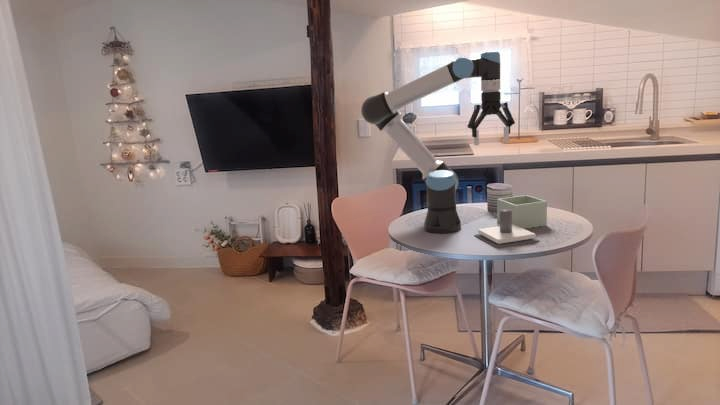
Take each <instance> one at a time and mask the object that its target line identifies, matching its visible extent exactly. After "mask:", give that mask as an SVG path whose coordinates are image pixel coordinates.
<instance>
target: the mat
mask: <svg viewBox="0 0 720 405" xmlns="http://www.w3.org/2000/svg"><path fill="white" fill-rule="evenodd" d="M474 237H475V238H477V239H479V240H481V241H483V242H485V243H487V244H488V245H490V246H492V247H494V248H496V249H500V248H501V249H502V248H508V247H512V246H513V247H515V246H522V245H526V244H532V243H540V240H539V239H537V238H536V237H535V238H531V239H529V240H522V241H516V242H509V243H503V244H498V243H496V242H494V241H492V240H490V239H488V238H487V237H485V236H483V235H481V234H479V233H477V234H474Z"/></svg>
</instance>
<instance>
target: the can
mask: <svg viewBox="0 0 720 405" xmlns="http://www.w3.org/2000/svg"><path fill="white" fill-rule="evenodd" d="M513 188H514V187H513V185H511V184H507V183H500V182H499V183H497V182H495V183H487V185H486V192H487V194H486V195H487V198H486V202H487V203H486V204H487V205H486V206H487V212H488V213H491V214H497V199H500V198H508V197H513Z"/></svg>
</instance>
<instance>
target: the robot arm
mask: <svg viewBox="0 0 720 405" xmlns="http://www.w3.org/2000/svg"><path fill="white" fill-rule="evenodd" d="M471 78H480V83H481V84H480V85H481V86H480V89H481V90H480V91H481V93H480V94H481V96H480V98H481V104H475V105H474V107H473V111H472V114H471V116H470V119H469V121H468V124H467V128H468V129H471V135H472V136H471V138H473V144H474V146H480V130H479V129H478V127H479V126H480V125H481V124H482V122H483V120H484V119H485V117H487V116H490V115H496V116H497V117H498V118H499V119H500V121H502V123H503V124H504V126H503V143H509V142H510V141H509V140H510V134H511V127H512V126H513V125H515V124H516V123H515V120H514V118H513V115H512V113H511V111H510V109H509V104H508V102H506V101H505V102H504V101H503V102H501V99H502V98H501V95H502V94H501V91H500V90H501V54H500V52H499V51H497V50H496V51H494V50H493V51H492V50H491V51H484V52H483V51H482V52H481V53H480V56H479V57H475V58H469V57H467V56H461V57H458V58H456V59H453V60H452V61H451V62H450V63H448V64H445V65H443V66H441V67H439V68H437V69H435V70H433V71H430V72H429V73H427V74H425V75H422V76H420V77H417V78H416V79H414V80H412V81H410V82H408V83H406V84H403V85H402V86H400V87H398V88H396V89H393V90H392V91H390V92H388V91H383V92H381V93H379V94H376V95H373V96H369V97H368V98H366V99H365V100H364V102H362V105H361V115H362V117H363V119H364V121H366V122H367V123H369V124H371V125H375V126H376V127H377V129H379V131H380V132H381V133H386V134H387V135H388V136H389V137H390V138H391V139H392V141H393V142H394V143H395V144H396V145H397V146H398V147H399V148H400V150H401V151H402V152H403V153H404V154H405V155H406V156H407V158H409V160H410V161H411V163H413V164H414V166H415V167H416V168H417V169H418V170H419V172H421V173H422V180H423V181H424V183H425V184H426V205H427V206H426V207H427V210H426V211H427V212H426V214H425V215H426V216H425V219H424V223H423V229H424V231H426V232H429V233H433V234H449V233H455V232H458V231H460V230H461V229H462V222H461V219H460V217H459V213H458V211H457V190H458V186H459V177H458V175H457V173H456V172H455V171H454V170H453V169H451V168H450V167H449V166H448V165H447V164H446V163H445V162H444V160H438V159H437V158H436V156H434V154H433V153H432V152H431V151H430V150H429V149H428V148H427V147H426V145H425V144H424V143H423V142H422V141H421V140H420V139H419V137H418V136H417V135H416V134H415V133H414V131H412V129H411V128H410V127H409V126H408V125H407V124H406V123H405V122H404V120H403V119H402V113H401V111H400V109H402V108H404V107H406V106H408V105H411V104H412V103H415V102H417V101H419V100H421V99H423V98H426V97H427V96H429V95H432V94H433V93H436V92H438V91H440V90H442V89H444V88H446V87H448V86H451V85H453V84H455V83H457V82H460V81H461V80H463V79H471ZM501 109H502V110H501ZM480 110H482V111H481V112H480ZM502 111H503V112H502Z"/></svg>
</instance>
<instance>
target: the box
mask: <svg viewBox="0 0 720 405" xmlns="http://www.w3.org/2000/svg"><path fill="white" fill-rule="evenodd" d="M503 209H509V210H512V224H514V225H516V226H518V227H521V228H523V229H525V228H527V229H533V228H532V227H534V228H539V226H541V227H546V225H547V226H548V224H547V223H548V219H547V218H548V201H547V200H545V199H541V198H537V197H534V196H531V195H527V194H526V195H517V196H512V197H508V198H500V199H497V213H496V219H497V220H496V221H497V222H496V223H498V224H500V210H503ZM525 230H526V229H525Z"/></svg>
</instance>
